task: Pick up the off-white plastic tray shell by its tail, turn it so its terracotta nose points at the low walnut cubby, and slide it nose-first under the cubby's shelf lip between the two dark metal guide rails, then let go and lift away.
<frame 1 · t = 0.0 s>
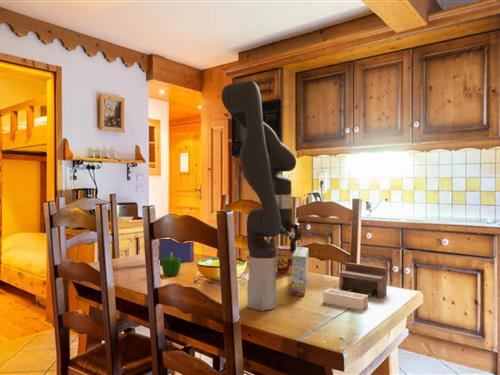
hand: (282, 250, 141), 17 cm above the table, tool pointing down, fingers open, 8 cm apart
cereal box: (176, 263, 200), on the table
tray shell: (345, 305, 133), on the table
bell pepper: (171, 275, 173), on the table
cubby: (362, 292, 147), on the table
snack box: (300, 289, 153), on the table
canned food: (285, 273, 179), on the table
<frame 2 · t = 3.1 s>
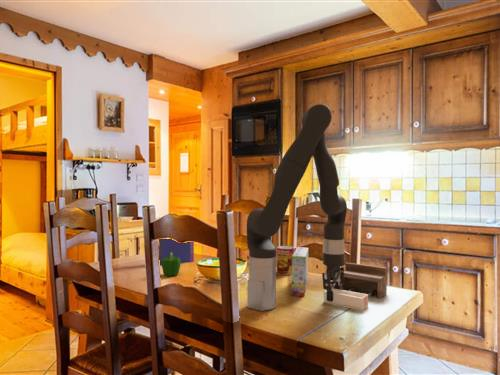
hand: (333, 298, 136), 1 cm above the table, tool pointing down, fingers closed on tray shell, 5 cm apart
tray shell: (345, 304, 133), on the table, touching gripper
everything else where it was.
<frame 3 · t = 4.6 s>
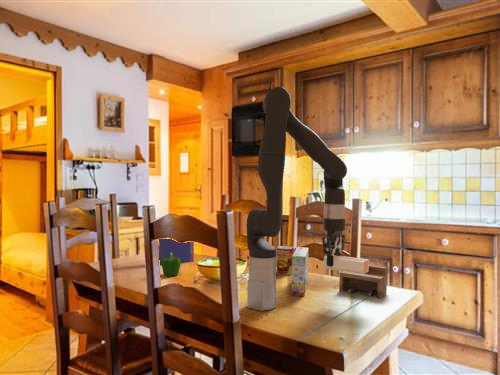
hand: (333, 264, 135), 13 cm above the table, tool pointing down, fingers closed on tray shell, 5 cm apart
tray shell: (345, 269, 132), point 12 cm above the table, touching gripper
everything else where it was.
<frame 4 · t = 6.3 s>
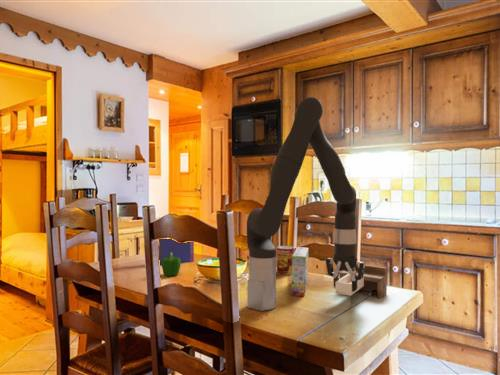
hand: (345, 289, 134), 5 cm above the table, tool pointing down, fingers closed on tray shell, 5 cm apart
tray shell: (350, 289, 138), point 4 cm above the table, touching gripper
everything else where it was.
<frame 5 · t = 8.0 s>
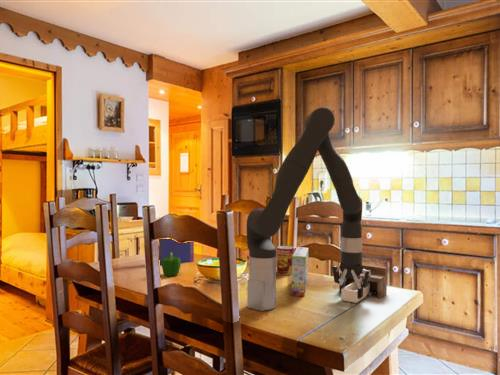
hand: (351, 296, 137), 2 cm above the table, tool pointing down, fingers closed on tray shell, 5 cm apart
tray shell: (355, 296, 141), on the table, touching gripper
everything else where it was.
when the fingers open (1 cm above the table, at t = 9.6 s): tray shell stays where it is, on the table.
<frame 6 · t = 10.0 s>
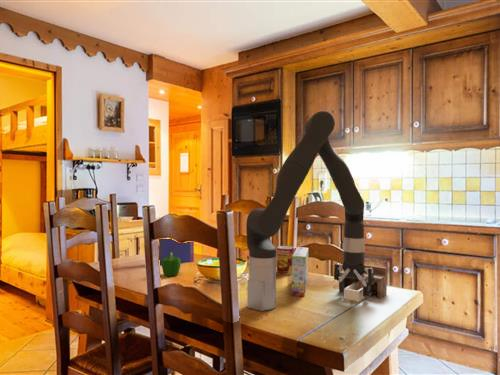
hand: (353, 294, 140), 2 cm above the table, tool pointing down, fingers open, 8 cm apart
tray shell: (358, 296, 143), on the table
everything else where it was.
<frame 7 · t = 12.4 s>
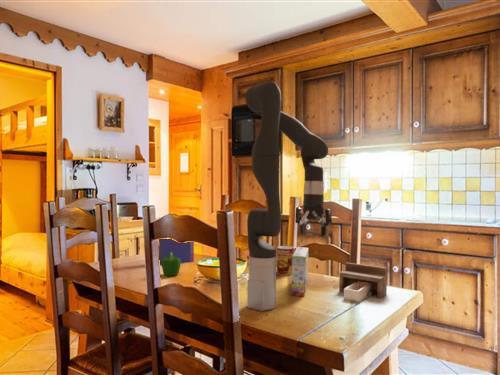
hand: (312, 235, 146), 22 cm above the table, tool pointing down, fingers open, 8 cm apart
nothing on the table moved.
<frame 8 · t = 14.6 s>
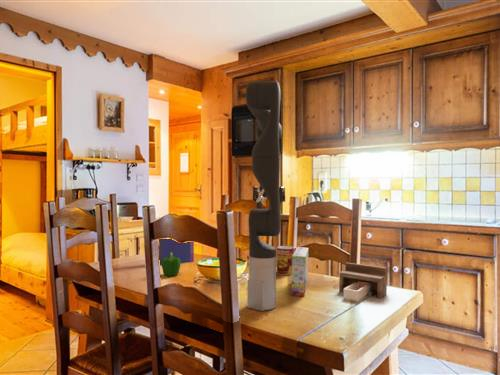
hand: (268, 212, 155), 30 cm above the table, tool pointing down, fingers open, 8 cm apart
nothing on the table moved.
at the end: tray shell 0.7 cm from the target spot on the table beside the cubby, on the table; the gripper is holding nothing; tray shell tilted 0° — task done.
